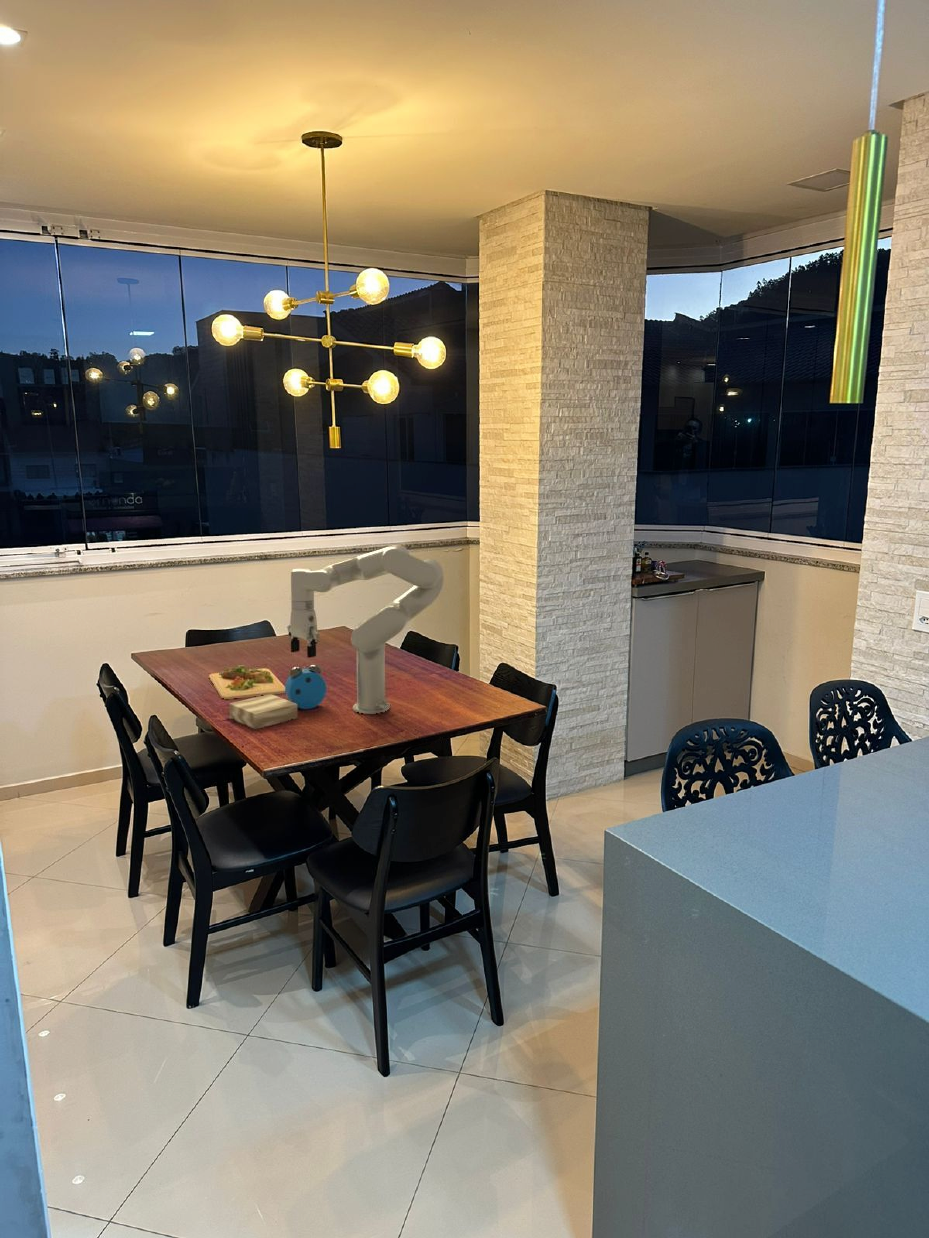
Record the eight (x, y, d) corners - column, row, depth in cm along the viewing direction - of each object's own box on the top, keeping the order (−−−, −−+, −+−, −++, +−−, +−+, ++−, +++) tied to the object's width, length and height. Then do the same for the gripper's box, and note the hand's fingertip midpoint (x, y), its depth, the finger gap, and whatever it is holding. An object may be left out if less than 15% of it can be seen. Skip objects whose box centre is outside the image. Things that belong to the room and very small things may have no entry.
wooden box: (297, 718, 283) (297, 703, 282) (255, 729, 272) (254, 714, 271) (271, 707, 295) (270, 693, 294) (229, 717, 284) (228, 703, 283)
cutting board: (288, 694, 313) (287, 674, 312) (222, 702, 304) (221, 681, 302) (268, 672, 344) (267, 653, 343) (208, 678, 335) (207, 659, 333)
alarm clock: (321, 702, 301) (320, 661, 298) (327, 707, 296) (326, 665, 293) (285, 707, 295) (283, 665, 292) (290, 712, 290) (289, 669, 287)
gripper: (327, 607, 285) (327, 657, 288) (297, 600, 297) (298, 648, 300) (308, 610, 280) (308, 660, 283) (279, 602, 292) (279, 651, 295)
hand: (303, 654), depth 292 cm, fingers open, 9 cm apart
